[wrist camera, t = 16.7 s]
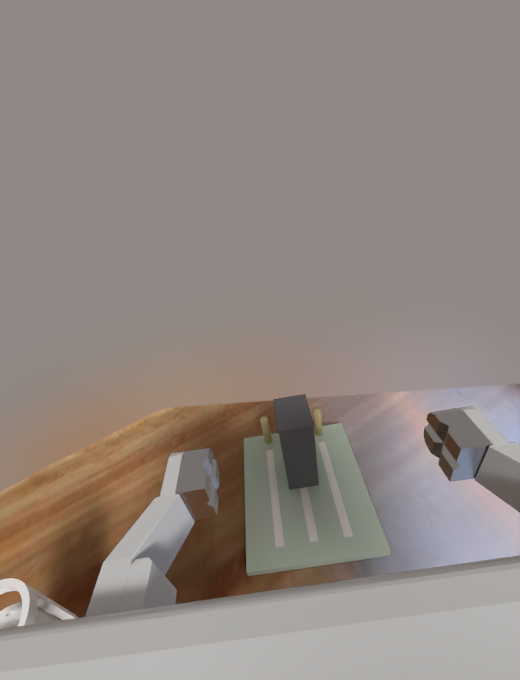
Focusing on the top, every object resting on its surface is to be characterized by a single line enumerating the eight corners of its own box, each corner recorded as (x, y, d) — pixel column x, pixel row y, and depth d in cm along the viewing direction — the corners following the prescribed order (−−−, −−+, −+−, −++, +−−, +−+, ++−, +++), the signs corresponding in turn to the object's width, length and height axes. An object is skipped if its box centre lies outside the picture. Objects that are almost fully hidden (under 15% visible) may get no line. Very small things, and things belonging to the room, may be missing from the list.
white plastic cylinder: (55, 765, 24) (-93, 757, 16) (17, 700, 27) (-121, 666, 19) (124, 656, 29) (38, 606, 21) (84, 612, 32) (-3, 555, 24)
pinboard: (341, 426, 47) (341, 400, 44) (390, 555, 32) (395, 530, 29) (244, 442, 48) (237, 417, 44) (248, 576, 33) (237, 553, 29)
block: (310, 451, 43) (304, 392, 37) (318, 485, 39) (313, 425, 32) (284, 455, 43) (273, 397, 37) (289, 489, 39) (278, 431, 32)
